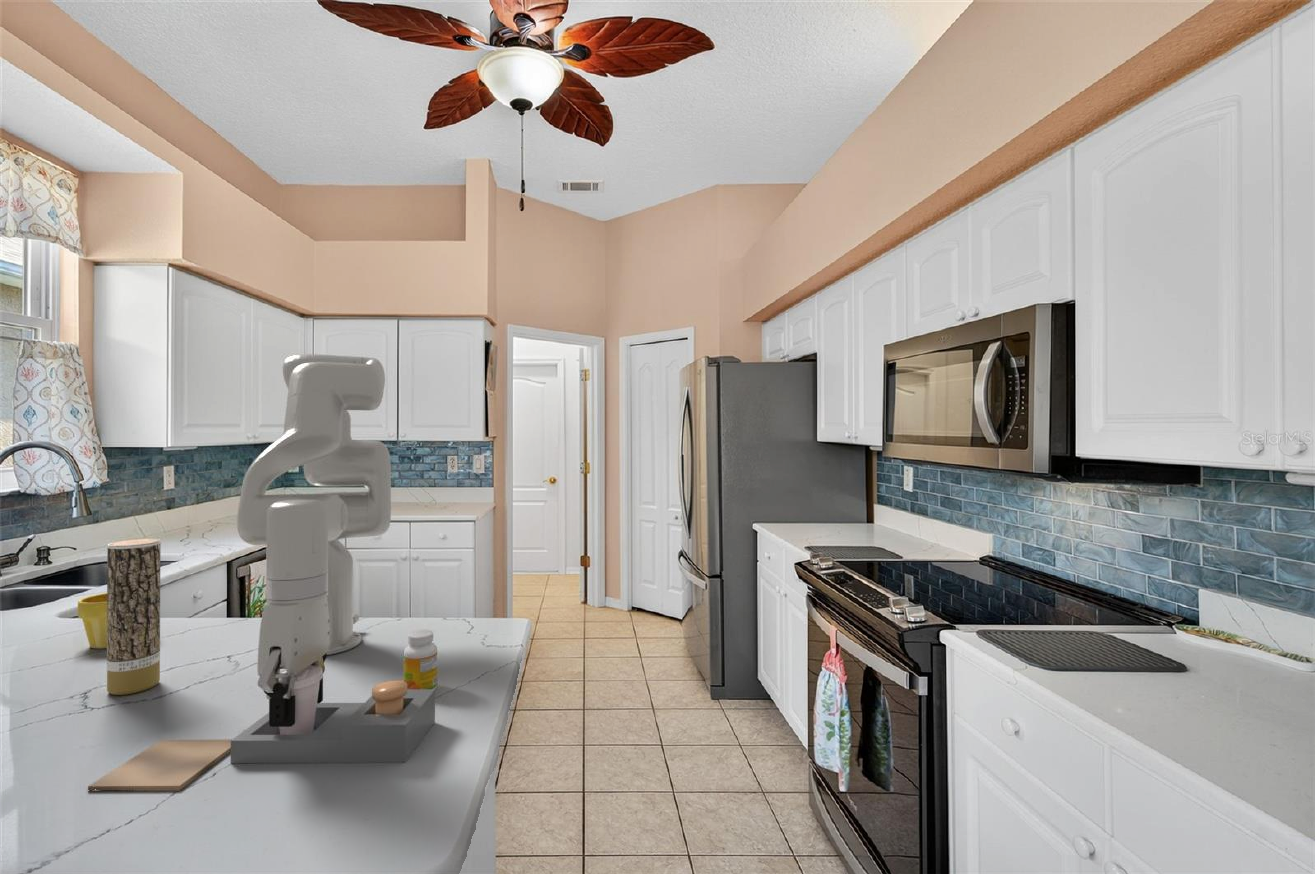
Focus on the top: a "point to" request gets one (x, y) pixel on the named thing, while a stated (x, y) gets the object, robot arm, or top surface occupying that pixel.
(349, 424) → the robot arm
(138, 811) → the top surface
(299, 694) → the smoothie
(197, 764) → the mat
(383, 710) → the tan mushroom
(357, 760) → the grey holder
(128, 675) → the bark pattern canister
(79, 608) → the plant pot
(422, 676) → the supplement bottle
